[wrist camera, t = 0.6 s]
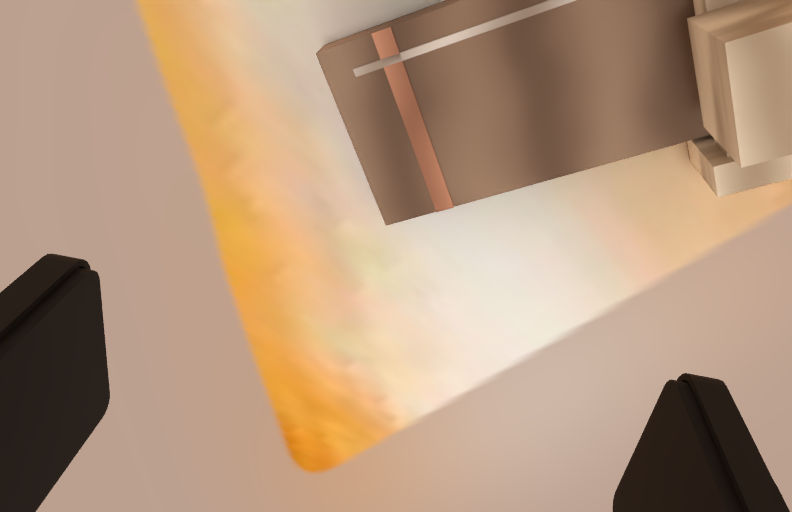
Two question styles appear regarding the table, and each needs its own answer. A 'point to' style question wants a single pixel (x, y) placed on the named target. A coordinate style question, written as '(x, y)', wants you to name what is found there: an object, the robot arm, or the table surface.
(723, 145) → the stacked wooden blocks
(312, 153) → the table surface
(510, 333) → the table surface
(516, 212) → the table surface
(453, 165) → the board
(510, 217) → the table surface
